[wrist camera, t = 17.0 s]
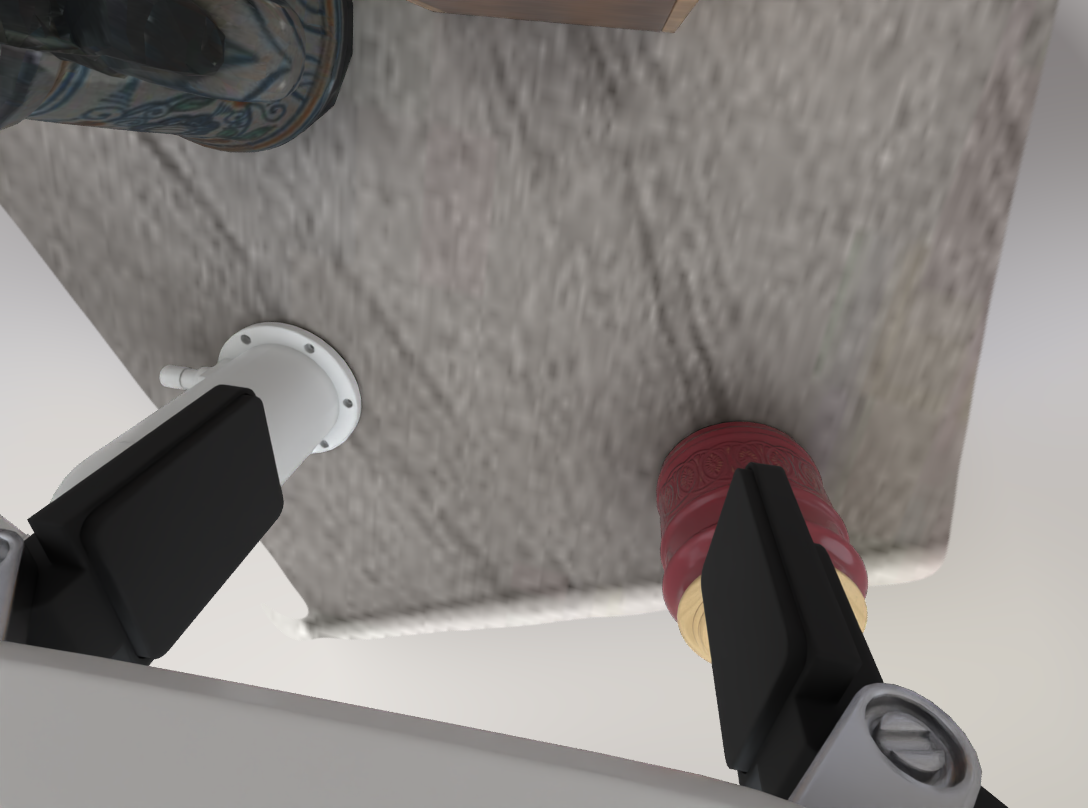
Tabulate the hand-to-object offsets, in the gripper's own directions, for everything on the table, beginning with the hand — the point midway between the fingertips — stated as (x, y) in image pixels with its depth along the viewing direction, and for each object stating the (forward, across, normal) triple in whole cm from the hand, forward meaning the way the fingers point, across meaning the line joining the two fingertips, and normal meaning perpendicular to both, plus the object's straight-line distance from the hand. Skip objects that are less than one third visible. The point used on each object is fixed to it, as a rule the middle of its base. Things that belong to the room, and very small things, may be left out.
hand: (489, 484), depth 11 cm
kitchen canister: (+31, -15, +21) cm, 40 cm away
